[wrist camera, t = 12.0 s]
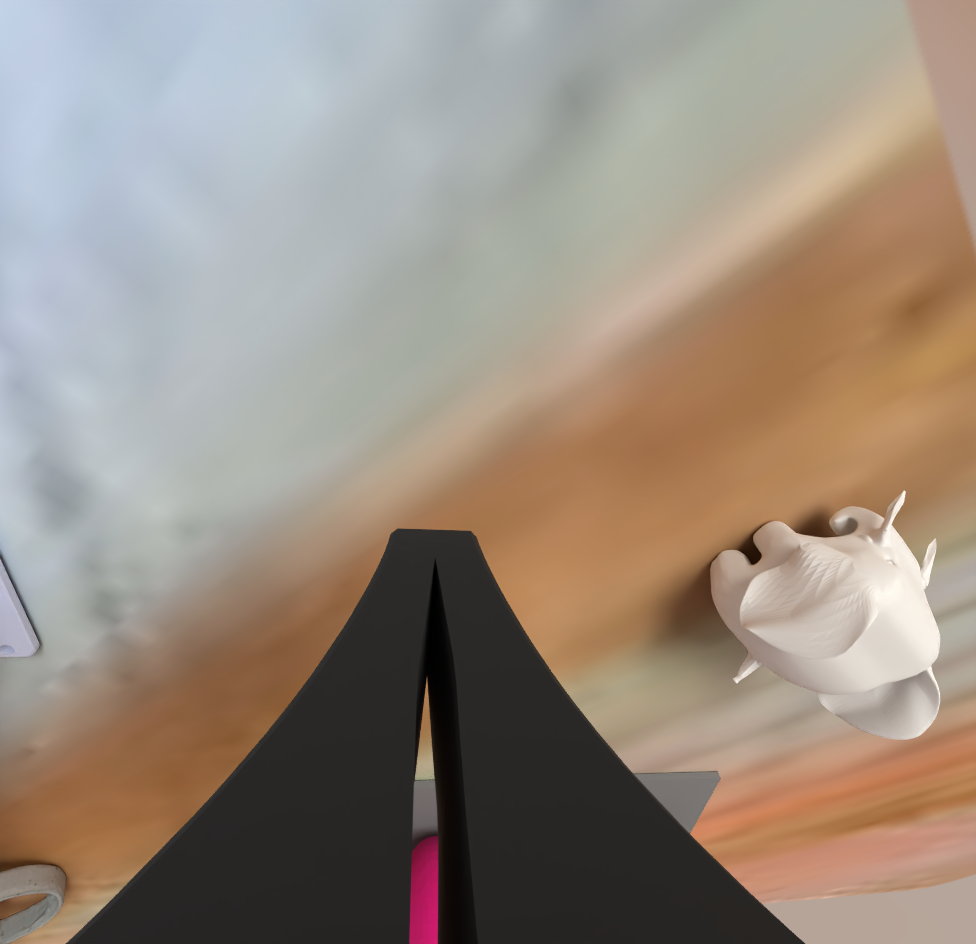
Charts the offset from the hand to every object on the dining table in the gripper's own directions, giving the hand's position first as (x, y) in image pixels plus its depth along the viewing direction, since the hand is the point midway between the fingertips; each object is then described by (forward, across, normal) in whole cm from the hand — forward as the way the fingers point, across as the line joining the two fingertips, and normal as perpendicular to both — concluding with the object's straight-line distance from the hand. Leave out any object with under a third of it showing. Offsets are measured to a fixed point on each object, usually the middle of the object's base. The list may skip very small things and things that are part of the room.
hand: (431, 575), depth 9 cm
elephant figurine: (+11, -16, +8) cm, 21 cm away
